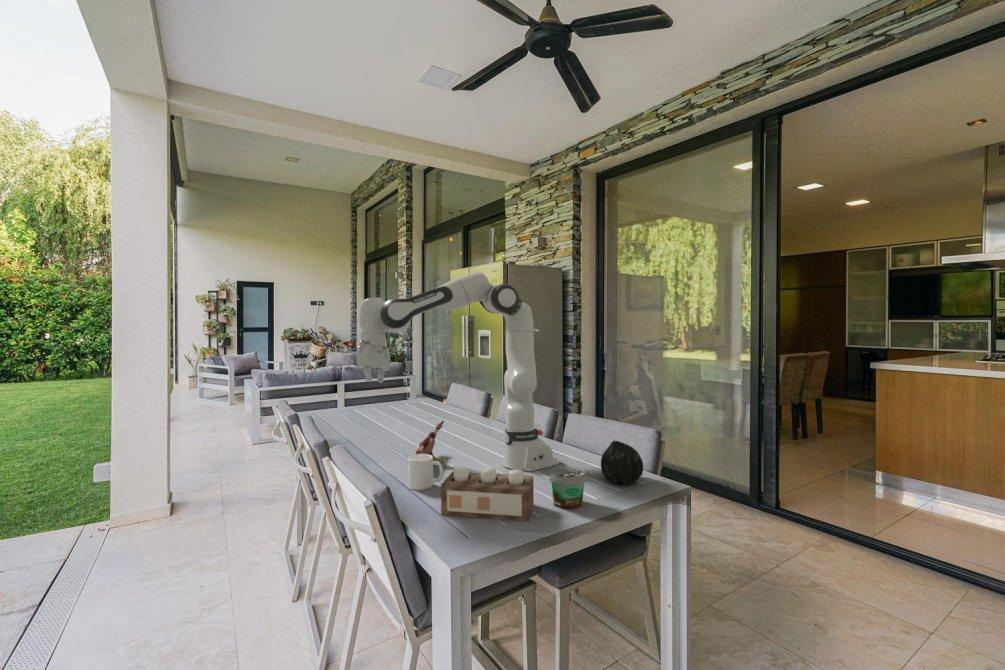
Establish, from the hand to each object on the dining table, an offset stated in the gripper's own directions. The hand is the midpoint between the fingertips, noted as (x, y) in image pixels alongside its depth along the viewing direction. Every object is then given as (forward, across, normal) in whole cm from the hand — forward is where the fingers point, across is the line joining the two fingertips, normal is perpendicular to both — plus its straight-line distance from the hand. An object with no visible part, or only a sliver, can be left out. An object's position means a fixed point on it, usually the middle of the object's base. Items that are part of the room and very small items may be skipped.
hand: (375, 381), depth 160 cm
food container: (+45, -3, -63) cm, 78 cm away
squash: (+43, +21, -81) cm, 94 cm away
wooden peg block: (+43, -9, -38) cm, 58 cm away
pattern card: (+43, -16, -38) cm, 59 cm away
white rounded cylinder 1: (+36, -10, -39) cm, 54 cm away
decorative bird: (+32, +31, -7) cm, 45 cm away
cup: (+38, +7, -14) cm, 40 cm away
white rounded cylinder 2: (+37, -11, -47) cm, 61 cm away
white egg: (+35, -10, -31) cm, 48 cm away
